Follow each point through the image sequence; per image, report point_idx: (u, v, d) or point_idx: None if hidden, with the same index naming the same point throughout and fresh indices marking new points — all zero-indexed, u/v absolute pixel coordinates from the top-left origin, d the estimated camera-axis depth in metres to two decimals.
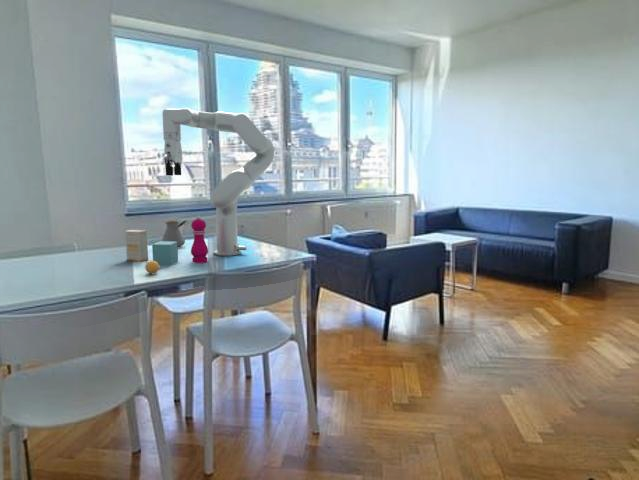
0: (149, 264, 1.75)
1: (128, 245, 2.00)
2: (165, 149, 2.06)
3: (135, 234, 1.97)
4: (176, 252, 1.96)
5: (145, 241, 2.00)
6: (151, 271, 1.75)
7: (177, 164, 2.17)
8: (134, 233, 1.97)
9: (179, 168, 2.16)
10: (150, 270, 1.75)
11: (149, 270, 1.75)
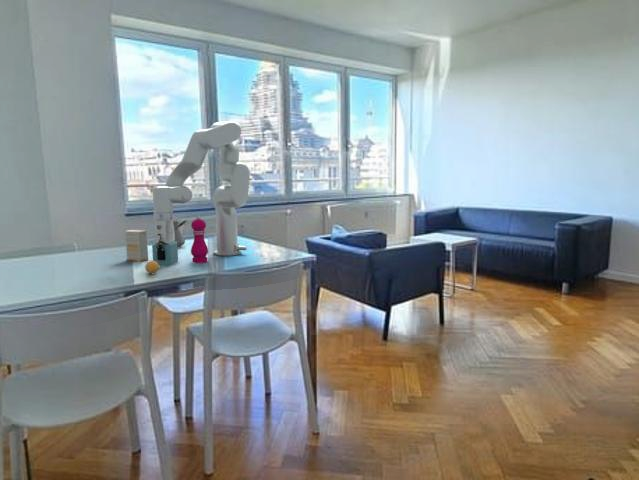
0: (149, 264, 1.75)
1: (128, 245, 2.00)
2: (156, 231, 1.88)
3: (135, 234, 1.97)
4: (176, 252, 1.96)
5: (145, 241, 2.00)
6: (151, 271, 1.75)
7: None
8: (134, 233, 1.97)
9: None
10: (150, 270, 1.75)
11: (149, 270, 1.75)
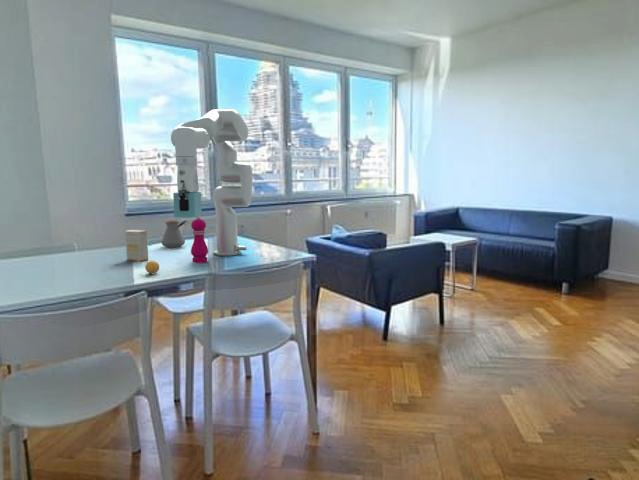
0: (149, 264, 1.75)
1: (128, 245, 2.00)
2: (178, 177, 1.66)
3: (135, 234, 1.97)
4: (200, 204, 1.74)
5: (145, 241, 2.00)
6: (151, 271, 1.75)
7: None
8: (134, 233, 1.97)
9: None
10: (150, 270, 1.75)
11: (149, 270, 1.75)
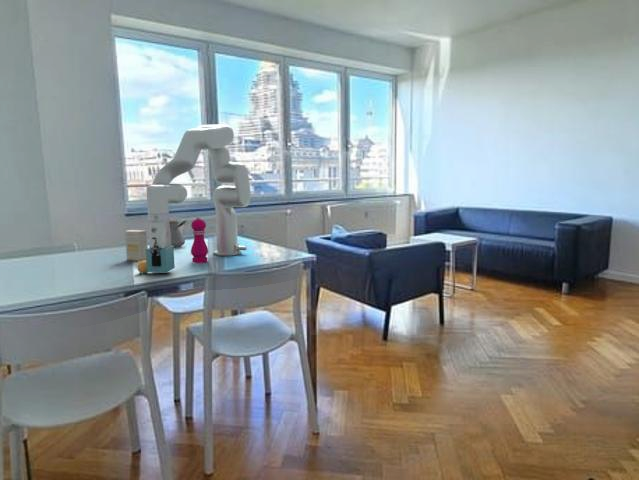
0: (138, 266, 1.75)
1: (128, 245, 2.00)
2: (150, 234, 1.70)
3: (135, 234, 1.97)
4: (172, 257, 1.78)
5: (145, 241, 2.00)
6: (145, 268, 1.75)
7: None
8: (134, 233, 1.97)
9: None
10: (143, 268, 1.75)
11: (143, 269, 1.75)
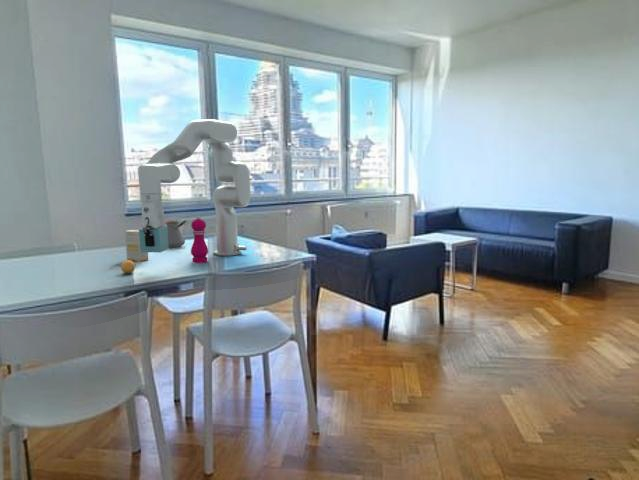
0: (128, 270, 1.75)
1: (128, 245, 2.00)
2: (143, 214, 1.69)
3: (135, 234, 1.97)
4: (166, 237, 1.78)
5: None
6: (122, 265, 1.75)
7: None
8: (134, 233, 1.97)
9: None
10: (123, 266, 1.75)
11: (124, 266, 1.75)
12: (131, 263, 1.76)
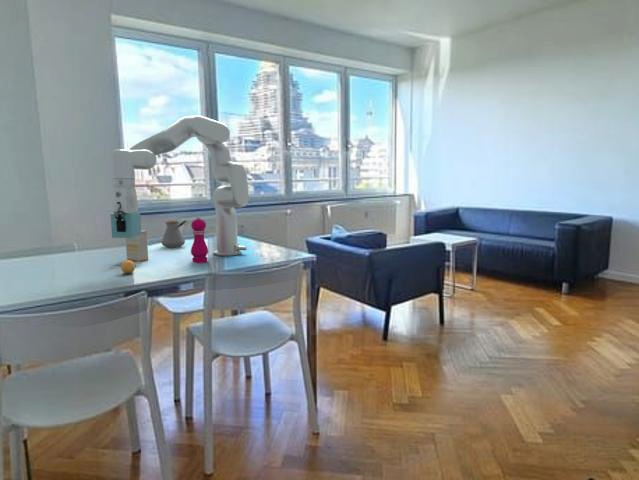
0: (128, 270, 1.75)
1: (128, 245, 2.00)
2: (115, 199, 1.68)
3: None
4: (139, 224, 1.77)
5: (145, 241, 2.00)
6: (122, 265, 1.75)
7: None
8: None
9: None
10: (123, 266, 1.75)
11: (124, 266, 1.75)
12: (131, 263, 1.76)
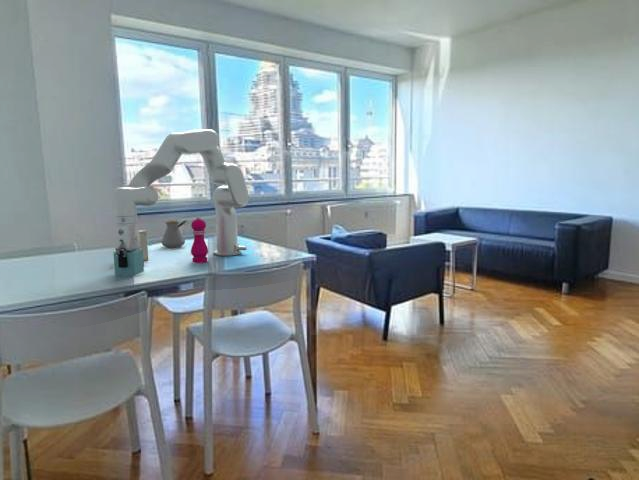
0: None
1: None
2: (117, 236, 1.71)
3: None
4: (141, 260, 1.79)
5: (145, 241, 2.00)
6: None
7: None
8: None
9: None
10: None
11: None
12: None
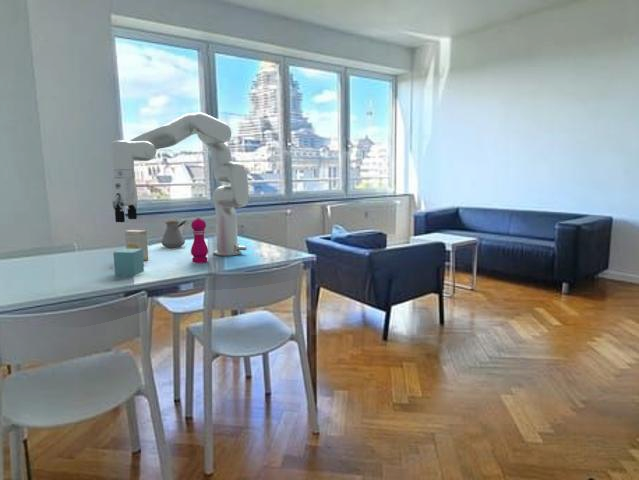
0: None
1: (128, 245, 2.00)
2: (114, 190, 1.68)
3: (135, 234, 1.97)
4: (141, 260, 1.79)
5: (145, 241, 2.00)
6: None
7: (131, 206, 1.79)
8: (134, 233, 1.97)
9: (134, 211, 1.78)
10: None
11: None
12: None
